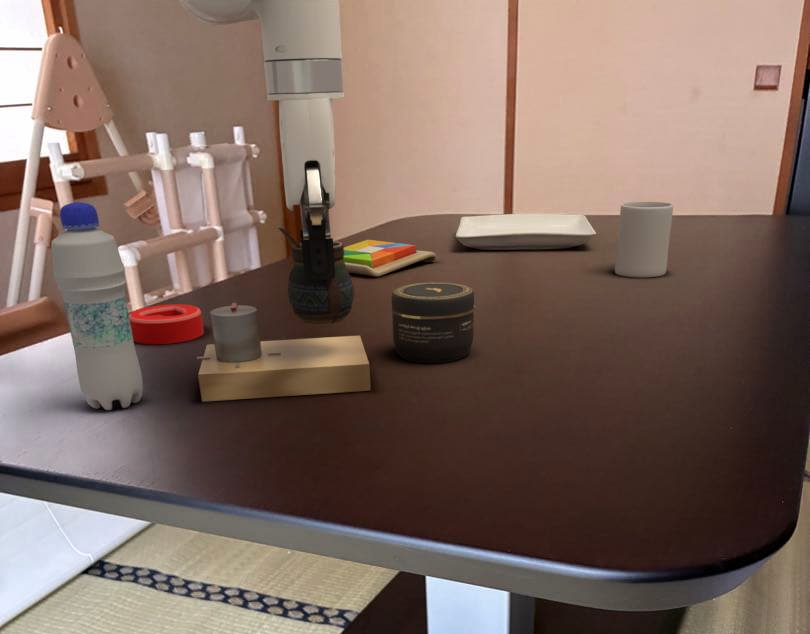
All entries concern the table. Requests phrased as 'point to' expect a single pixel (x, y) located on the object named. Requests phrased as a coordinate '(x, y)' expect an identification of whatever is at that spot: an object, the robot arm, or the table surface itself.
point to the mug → (643, 239)
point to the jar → (433, 321)
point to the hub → (236, 333)
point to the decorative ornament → (166, 324)
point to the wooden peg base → (288, 370)
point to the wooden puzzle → (382, 257)
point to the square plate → (524, 231)
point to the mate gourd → (320, 289)
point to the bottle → (96, 308)
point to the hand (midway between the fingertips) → (318, 271)
